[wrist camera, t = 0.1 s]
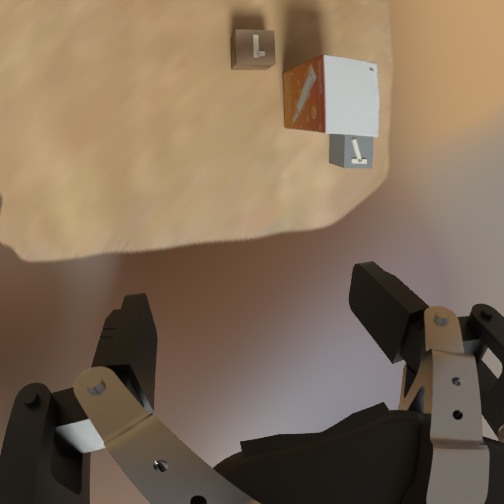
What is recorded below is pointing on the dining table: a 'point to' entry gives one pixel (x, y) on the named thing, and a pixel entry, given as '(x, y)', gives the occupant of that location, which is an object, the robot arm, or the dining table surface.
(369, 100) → the small box
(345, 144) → the slate block seven
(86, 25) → the dining table surface
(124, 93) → the dining table surface
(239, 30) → the walnut block one
